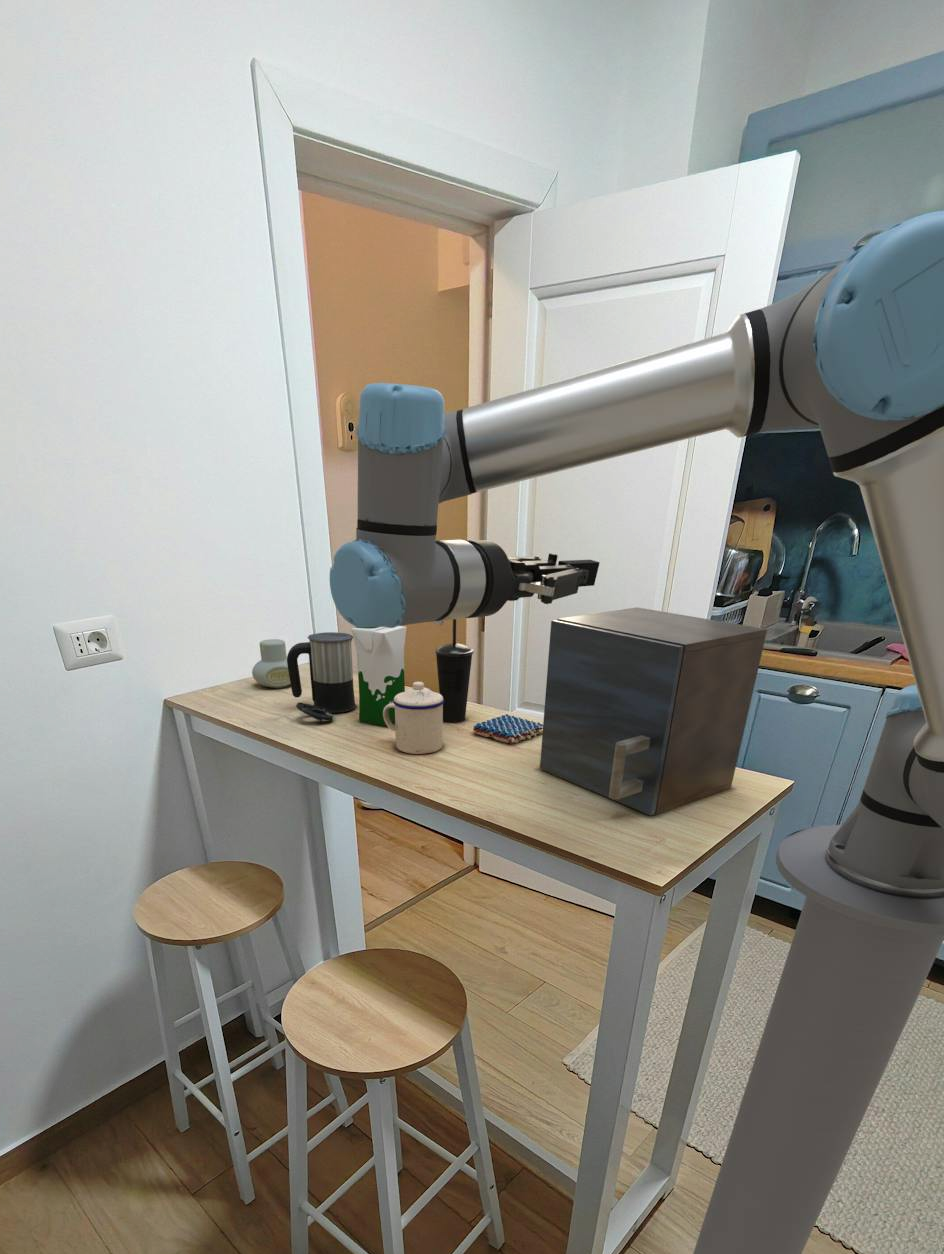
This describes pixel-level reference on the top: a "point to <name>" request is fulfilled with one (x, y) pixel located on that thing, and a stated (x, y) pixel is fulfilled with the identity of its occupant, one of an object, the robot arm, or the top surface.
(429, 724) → the teacup with lid
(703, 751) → the cupboard
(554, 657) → the cupboard door
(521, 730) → the woven mat
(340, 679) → the milk frother
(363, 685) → the milk carton
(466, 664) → the drinking cup
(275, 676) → the air freshener
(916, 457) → the robot arm
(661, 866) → the top surface
